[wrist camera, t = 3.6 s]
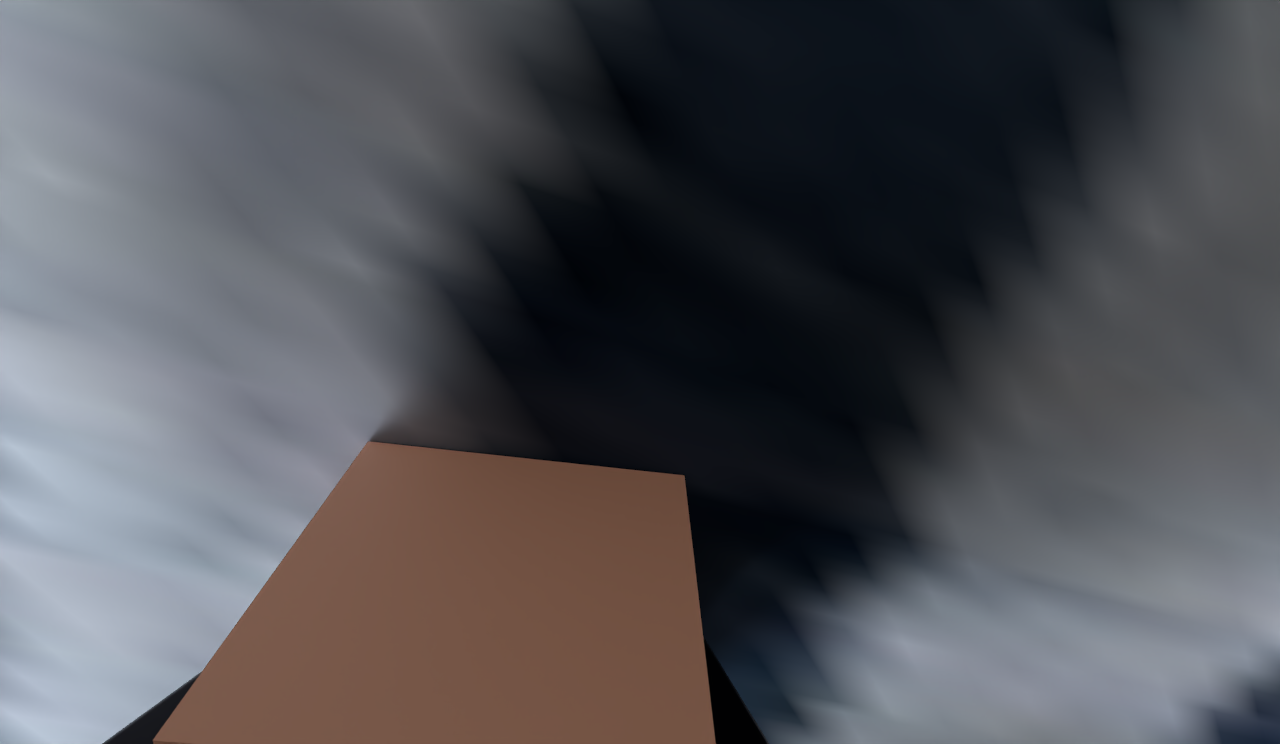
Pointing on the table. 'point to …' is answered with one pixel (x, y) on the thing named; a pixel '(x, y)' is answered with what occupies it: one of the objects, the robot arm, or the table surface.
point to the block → (469, 613)
